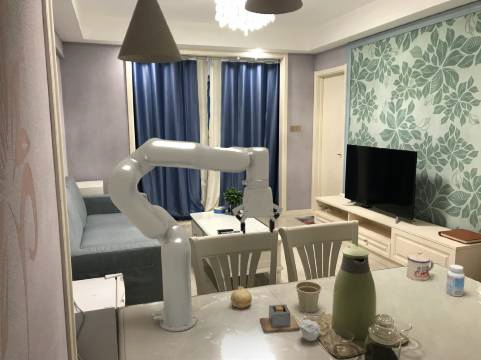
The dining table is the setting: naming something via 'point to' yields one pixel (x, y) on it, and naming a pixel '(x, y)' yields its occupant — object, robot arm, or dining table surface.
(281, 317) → the link
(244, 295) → the onion
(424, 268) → the teacup with lid
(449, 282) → the pill bottle
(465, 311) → the dining table surface
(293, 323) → the keeper
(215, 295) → the dining table surface
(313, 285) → the flower pot
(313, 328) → the crumpled paper ball
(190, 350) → the dining table surface
